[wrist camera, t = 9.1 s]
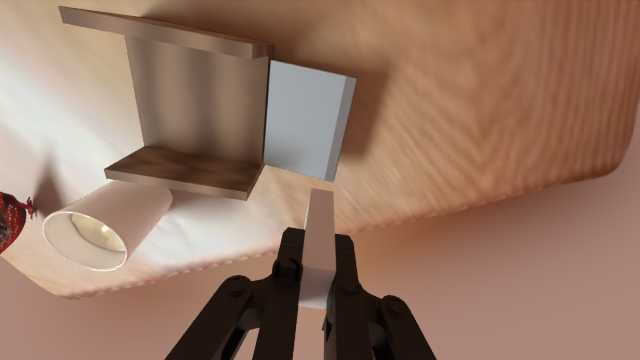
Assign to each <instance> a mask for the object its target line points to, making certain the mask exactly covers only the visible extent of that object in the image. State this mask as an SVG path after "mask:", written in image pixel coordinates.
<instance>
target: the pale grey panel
mask: <svg viewBox="0 0 640 360" xmlns="http://www.w3.org/2000/svg"><path fill="white" fill-rule="evenodd" d="M357 80H358V78H357V77H352V76H347V75H343V74H338V73H333V72H329V71H324V70H319V69H315V68H310V67H305V66H301V65H296V64H291V63H287V62H282V61H277V60H271V66H270V80H269V94H268V108H267V122H266V136H265V150H264V164H266V165H270V166H274V167H278V168H281V169H285V170H289V171H293V172H296V173H300V174H304V175H308V176H311V177H315V178H319V179H323V180H326V181H330V182H333V181H334V178H335V174H336V170H337V165H338V161H339V157H340V153H341V148H342V144H343V140H344V135H345V131H346V127H347V122H348V118H349V114H350V110H351V105H352V101H353V97H354V92H355V88H356V84H357Z"/></svg>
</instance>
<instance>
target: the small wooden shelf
mask: <svg viewBox="0 0 640 360" xmlns="http://www.w3.org/2000/svg"><path fill="white" fill-rule="evenodd" d="M58 7H59V10H60V14H61V18H62V21H63V23H66V24H71V25H76V26H81V27H86V28H91V29H97V30H102V31H107V32H112V33H117V34H122V35H124V36H125V41H126V47H127V53H128V58H129V64H130V69H131V75H132V80H133V86H134V91H135V97H136V102H137V108H138V113H139V119H140V124H141V130H142V136H143V141H144V147H142V148H141V149H139V150H137V151H135V152H133V153H132V154H130V155H128V156H126V157H125V158H123V159H121V160H119V161H118V162H116V163H114V164H112V165H110V166H109V167H107V168H105V169H104V172H105V175H106V179H112V180H119V181H125V182H131V183H137V184H144V185H150V186H156V187H163V188H169V189H175V190H181V191H188V192H194V193H200V194H206V195H213V196H219V197H225V198H232V199H238V200H244V201H247V199H248V197H249V195H250V193H251V191H252V189H253V187H254V185H255V184H256V182H257V180H258V178H259V176H260V174H261V172H262V170H263V168H264V166H265V164H264V150H265V136H266V122H267V108H268V94H269V80H270V66H271V60H273V56H274V44H273V43H268V42H263V41H258V40H253V39H248V38H243V37H238V36H233V35H228V34H223V33H218V32H213V31H208V30H203V29H198V28H193V27H187V26H182V25H177V24H172V23H167V22H162V21H157V20H152V19H147V18H142V17H136V16H129V15H121V14H114V13H107V12H99V11H92V10H84V9H77V8H70V7H62V6H58Z"/></svg>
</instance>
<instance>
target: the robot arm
mask: <svg viewBox="0 0 640 360" xmlns="http://www.w3.org/2000/svg"><path fill="white" fill-rule="evenodd" d="M326 304H327V309H326V311H327V313H326V316H325V319H324V323H323V326H322V330H323V331H324V360H437V359H436V357H435V356H434V354H433V352H432V350H431V348H430V346H429V345H428V343H427V341H426V339H425V337H424V335H423V333H422V331H421V330H420V328H419V326H418V324H417V322H416V320H415V318H414V316H413V315H412V313H411V311H410V309H409V307H408V306H407V304H406V303H405V302H404V301H402V300H401V299H400V298H398V297H396V296H392V295H387V296H384V297H383V298H382V299H380V298H378V297H376V296H374V295H371V294H370V293H368V292H367V291H365V290H364V289H363V288H362V286H361V284H360V283H359V280H358V275H357V267H356V259H355V252H354V243H353V241H352V240H351V238H350V236H347V235H341V234H335V229H334V201H333V191H327V190H320V189H314V188H311V190H310V196H309V202H308V207H307V213H306V218H305V226H304V229H297V228H290V227H288V228H287V229H286V230H285V231H284V232H283V235H282V239H281V244H280V248H279V252H278V257H277V260H275V262H274V264H273V269H272V274H271V275H269V276H268V277H266V278H265V279H261V280H256V281H251V280H250V279H249V278H247V277H245V276H241V275H236V276H232V277H230V278H227V279H226V280H225V281H224V282H223V283H222V284H221V285H220V287H219V288H218V290H217V291H216V292H215V293H214V295H213V296H212V298H211V299H210V300H209V302H208V303H207V304H206V305H205V307H204V308H203V309H202V311H201V312H200V313H199V315H198V316H197V317H196V319H195V320H194V321H193V323H192V324H191V325H190V327H189V328H188V329H187V331H186V332H185V333H184V335H183V336H182V337H181V338H180V340H179V341H178V343H177V344H176V345H175V346H174V348H173V349H172V350H171V352H170V353H169V354H168V356H167V357H166V359H165V360H233V359H234V358H235V356H236V354H237V352H238V350H239V348H240V346H241V345H242V343H243V341H244V339H245V337H246V335H247V333H248V331H249V330H251V329H255V328H260V329H259V333H258V337H257V341H256V346H255V350H254V354H253V358H252V360H292V359H293V351H294V341H295V332H296V323H297V314H298V313H297V312H298V306H304V307H311V308H319V309H325V307H326Z"/></svg>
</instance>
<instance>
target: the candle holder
mask: <svg viewBox="0 0 640 360" xmlns="http://www.w3.org/2000/svg"><path fill="white" fill-rule="evenodd" d="M172 201H173V197H172V193H171V190H170V189H169V188H163V187H156V186H150V185H144V184H137V183H131V182H125V181H119V180H113V181H111V182H109V183H108V184H106V185H104V186H102V187H100V188H99V189H97V190H95V191H93V192H91V193H89V194H88V195H86V196H84V197H82V198H80V199H79V200H77V201H75V202H73V203H71V204H69V205H68V206H66V207H64V208H62V209H60V210H58V211H56V212H54V213H52V214H50V215H49V216H48V217H47V218H46V219H45V220H44V222H43V226H42V230H43V234H44V237H45V239H46V241H47V242H48V244H49V245H50V246H51V247H52V248H53V250H55V251H56V252H57V253H58V254H59V255H60V256H62V257H63V258H65V259H66V260H68V261H70V262H72V263H74V264H76V265H78V266H81V267H83V268H87V269H91V270H96V271H111V270H115V269H118V268H120V267H122V266H123V265H124V264H125V263H126V262H127V261H128V259H129V257H130V256H131V255H132V254H133V252H134V251H135V250H136V249H137V248H138V246H139V245H140V244H141V243H142V241H143V240H144V239H145V238H146V237H147V235H148V234H149V233H150V232H151V231H152V229H153V228H154V227H155V226H156V224H157V223H158V222H159V221H160V220H161V218H162V217H163V216H164V215H165V213H166V212H167V211H168V210H169V208H170V207H171V205H172Z"/></svg>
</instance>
